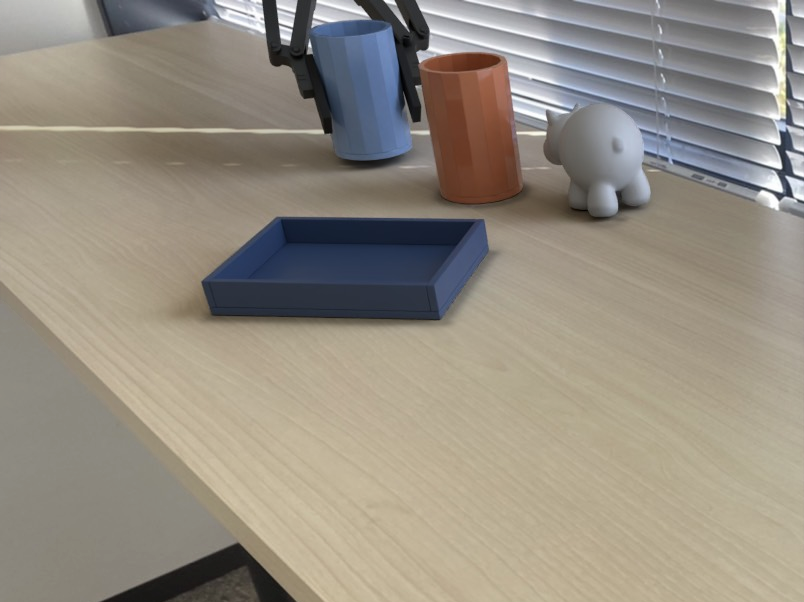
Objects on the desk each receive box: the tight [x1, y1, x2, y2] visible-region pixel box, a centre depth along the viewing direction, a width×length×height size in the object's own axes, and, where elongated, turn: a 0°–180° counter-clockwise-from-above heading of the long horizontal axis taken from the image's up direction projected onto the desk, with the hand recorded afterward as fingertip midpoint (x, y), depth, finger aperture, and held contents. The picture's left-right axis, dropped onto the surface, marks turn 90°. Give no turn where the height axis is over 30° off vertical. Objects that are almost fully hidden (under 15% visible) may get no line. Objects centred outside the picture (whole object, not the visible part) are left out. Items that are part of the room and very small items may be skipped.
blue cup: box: [309, 19, 413, 161], centre depth 110 cm, size 7×7×11 cm
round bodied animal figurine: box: [542, 102, 651, 218], centre depth 100 cm, size 7×12×8 cm, turn 39°
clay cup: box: [418, 51, 524, 205], centre depth 102 cm, size 7×7×11 cm
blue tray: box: [200, 216, 490, 320], centre depth 88 cm, size 17×13×3 cm
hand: (373, 119), depth 108 cm, fingers closed on blue cup, 7 cm apart
